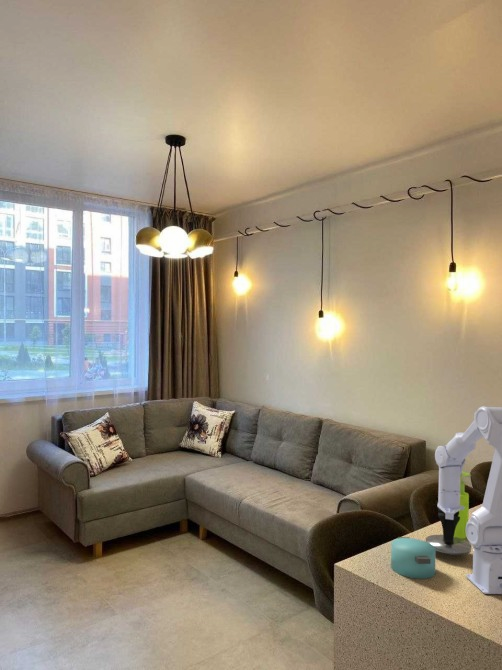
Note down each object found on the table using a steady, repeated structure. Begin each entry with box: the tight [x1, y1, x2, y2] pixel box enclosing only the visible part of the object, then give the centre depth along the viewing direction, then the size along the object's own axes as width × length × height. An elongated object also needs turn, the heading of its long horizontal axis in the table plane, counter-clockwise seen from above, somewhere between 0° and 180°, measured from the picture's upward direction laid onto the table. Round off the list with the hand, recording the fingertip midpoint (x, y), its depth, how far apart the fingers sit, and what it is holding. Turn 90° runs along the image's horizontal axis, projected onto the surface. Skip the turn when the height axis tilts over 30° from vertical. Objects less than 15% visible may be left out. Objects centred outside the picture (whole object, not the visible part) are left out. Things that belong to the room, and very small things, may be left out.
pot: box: [390, 536, 437, 580], centre depth 131 cm, size 14×11×6 cm
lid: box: [425, 534, 472, 556], centre depth 142 cm, size 12×12×4 cm
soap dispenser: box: [454, 470, 472, 540], centre depth 156 cm, size 6×7×20 cm
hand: (448, 537), depth 142 cm, fingers closed on lid, 3 cm apart
